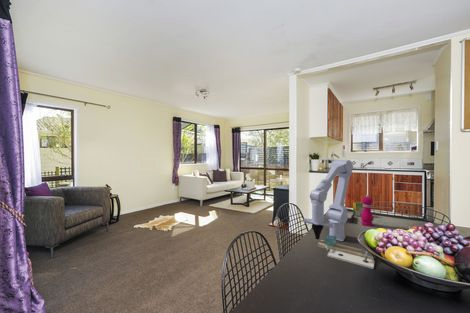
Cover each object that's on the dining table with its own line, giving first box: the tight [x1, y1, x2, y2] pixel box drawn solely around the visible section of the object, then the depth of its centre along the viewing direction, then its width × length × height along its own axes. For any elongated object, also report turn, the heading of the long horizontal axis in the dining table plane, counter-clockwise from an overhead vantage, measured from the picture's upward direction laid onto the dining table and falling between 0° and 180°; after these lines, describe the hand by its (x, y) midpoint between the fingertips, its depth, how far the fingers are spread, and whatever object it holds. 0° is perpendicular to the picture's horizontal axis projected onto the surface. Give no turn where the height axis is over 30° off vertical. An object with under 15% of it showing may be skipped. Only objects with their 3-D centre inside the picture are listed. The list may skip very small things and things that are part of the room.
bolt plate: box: [326, 249, 375, 270], centre depth 97 cm, size 7×18×1 cm, turn 54°
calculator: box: [345, 212, 355, 224], centre depth 155 cm, size 11×4×15 cm
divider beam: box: [317, 239, 375, 261], centre depth 103 cm, size 11×24×5 cm, turn 54°
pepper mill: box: [360, 194, 374, 227], centre depth 142 cm, size 7×7×20 cm
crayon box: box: [352, 200, 364, 217], centre depth 163 cm, size 7×3×12 cm, turn 99°
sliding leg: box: [324, 234, 337, 252], centre depth 107 cm, size 10×4×4 cm, turn 144°
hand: (317, 238), depth 113 cm, fingers closed
